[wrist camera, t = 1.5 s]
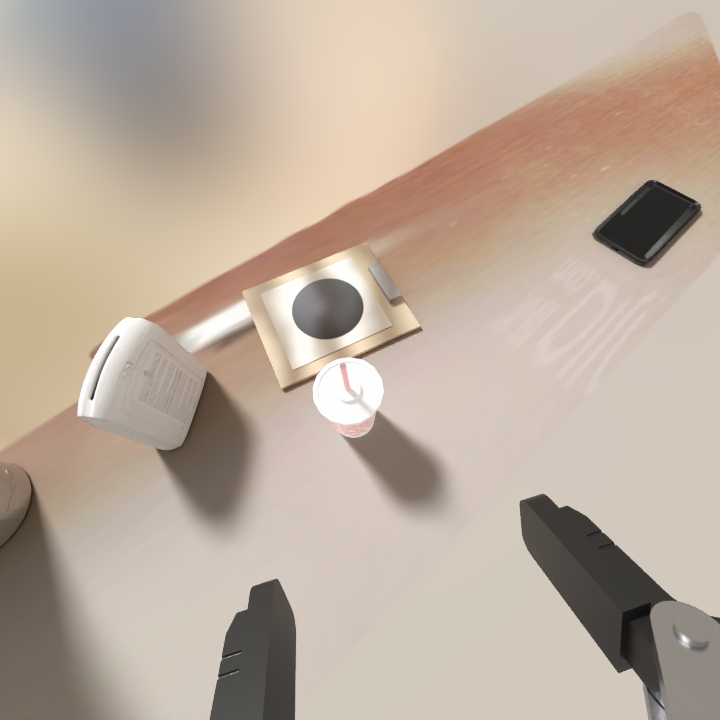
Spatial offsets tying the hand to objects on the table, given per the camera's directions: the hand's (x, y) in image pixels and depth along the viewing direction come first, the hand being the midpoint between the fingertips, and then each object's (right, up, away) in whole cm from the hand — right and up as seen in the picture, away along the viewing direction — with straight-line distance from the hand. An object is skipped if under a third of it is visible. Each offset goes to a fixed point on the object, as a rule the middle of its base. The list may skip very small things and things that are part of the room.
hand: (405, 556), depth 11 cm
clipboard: (-5, +13, +33) cm, 35 cm away
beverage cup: (-2, 0, +27) cm, 27 cm away
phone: (+38, +25, +37) cm, 59 cm away
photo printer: (-22, +1, +28) cm, 36 cm away
